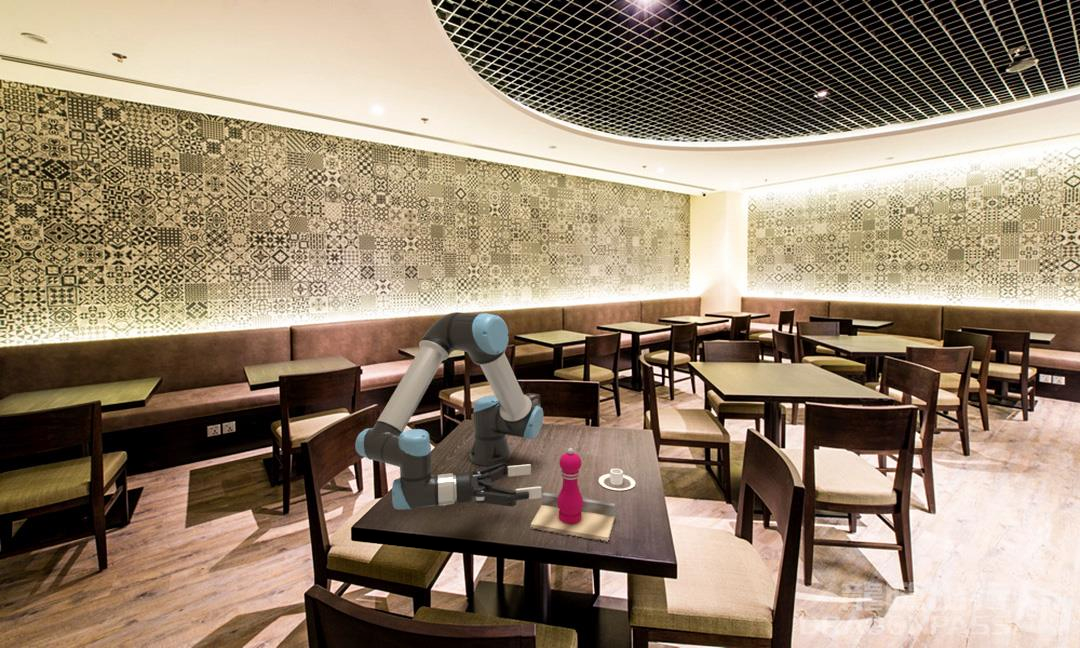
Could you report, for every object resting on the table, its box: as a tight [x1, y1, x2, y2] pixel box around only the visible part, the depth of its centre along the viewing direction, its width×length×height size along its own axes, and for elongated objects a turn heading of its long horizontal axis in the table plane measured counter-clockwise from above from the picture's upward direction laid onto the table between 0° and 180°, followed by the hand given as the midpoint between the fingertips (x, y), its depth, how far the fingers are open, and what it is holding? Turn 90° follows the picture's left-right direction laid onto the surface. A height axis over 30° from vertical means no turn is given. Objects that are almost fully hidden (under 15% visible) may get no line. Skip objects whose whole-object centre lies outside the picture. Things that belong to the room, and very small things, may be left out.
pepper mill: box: [557, 447, 584, 524], centre depth 123 cm, size 7×7×20 cm
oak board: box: [530, 492, 616, 541], centre depth 123 cm, size 21×12×4 cm, turn 72°
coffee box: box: [524, 392, 541, 407], centre depth 194 cm, size 9×6×16 cm
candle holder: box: [598, 468, 637, 491], centre depth 147 cm, size 12×12×4 cm
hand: (535, 479), depth 120 cm, fingers open, 13 cm apart
